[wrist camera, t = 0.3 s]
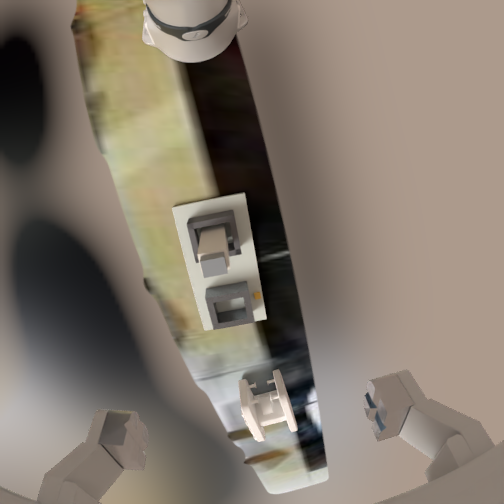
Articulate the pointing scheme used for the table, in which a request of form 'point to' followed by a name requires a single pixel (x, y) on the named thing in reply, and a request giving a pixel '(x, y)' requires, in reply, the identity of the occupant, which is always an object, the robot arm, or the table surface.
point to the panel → (239, 246)
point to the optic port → (230, 316)
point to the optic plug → (213, 251)
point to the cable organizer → (266, 406)
